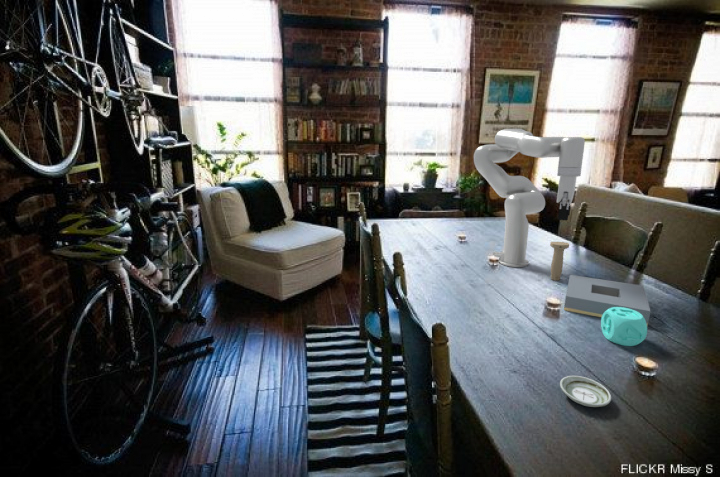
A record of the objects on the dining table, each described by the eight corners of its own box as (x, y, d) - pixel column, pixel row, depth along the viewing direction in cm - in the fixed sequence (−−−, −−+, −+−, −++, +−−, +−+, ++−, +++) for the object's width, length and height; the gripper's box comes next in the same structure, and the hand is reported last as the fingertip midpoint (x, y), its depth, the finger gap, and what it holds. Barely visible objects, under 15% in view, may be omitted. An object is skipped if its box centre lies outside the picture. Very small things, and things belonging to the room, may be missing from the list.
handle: (565, 282, 144) (570, 245, 140) (547, 280, 146) (551, 244, 142) (563, 278, 148) (567, 242, 144) (545, 276, 150) (549, 241, 146)
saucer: (561, 407, 79) (563, 398, 78) (556, 380, 87) (557, 371, 87) (615, 419, 75) (617, 409, 75) (603, 389, 84) (605, 380, 83)
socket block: (563, 309, 121) (565, 295, 120) (568, 287, 139) (570, 274, 138) (647, 326, 110) (650, 311, 109) (640, 299, 128) (643, 285, 127)
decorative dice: (644, 347, 99) (650, 320, 97) (611, 345, 101) (616, 318, 99) (629, 332, 107) (634, 307, 105) (598, 330, 108) (603, 305, 106)
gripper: (559, 169, 144) (554, 212, 149) (555, 173, 130) (550, 221, 135) (581, 170, 141) (576, 214, 145) (579, 174, 126) (573, 222, 131)
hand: (563, 217), depth 140 cm, fingers open, 9 cm apart
